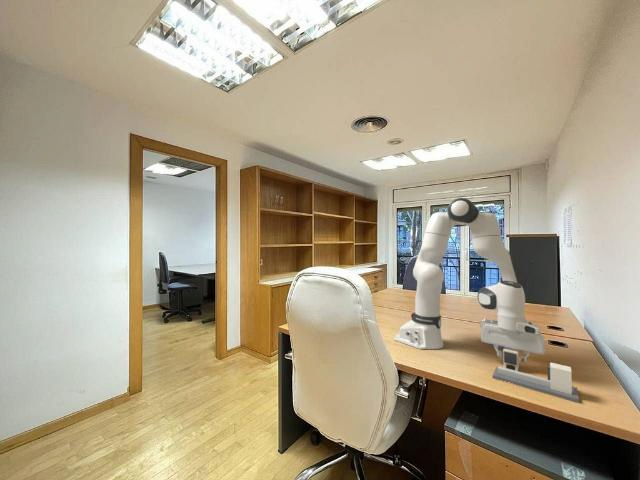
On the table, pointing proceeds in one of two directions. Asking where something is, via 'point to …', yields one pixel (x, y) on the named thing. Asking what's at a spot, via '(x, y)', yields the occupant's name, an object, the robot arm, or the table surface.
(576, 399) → the rail
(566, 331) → the table surface
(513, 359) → the block
